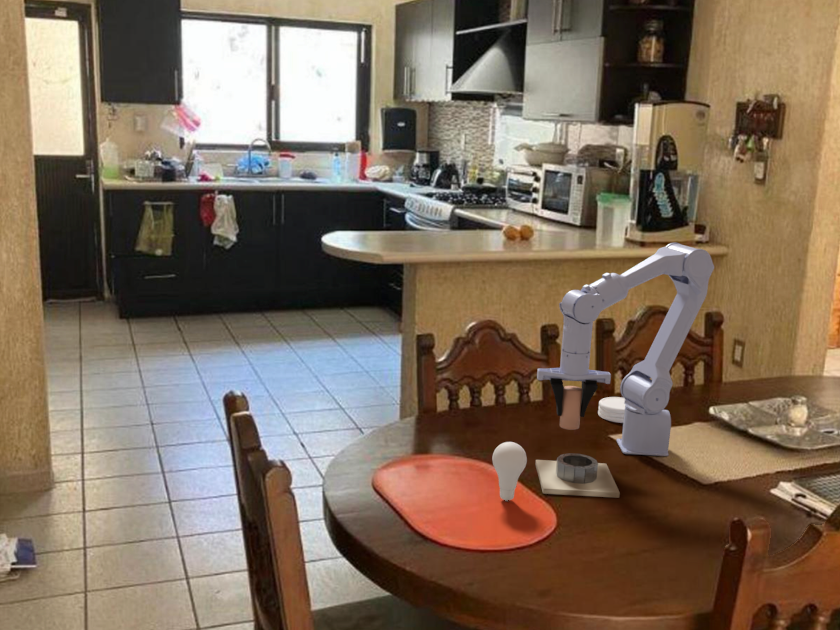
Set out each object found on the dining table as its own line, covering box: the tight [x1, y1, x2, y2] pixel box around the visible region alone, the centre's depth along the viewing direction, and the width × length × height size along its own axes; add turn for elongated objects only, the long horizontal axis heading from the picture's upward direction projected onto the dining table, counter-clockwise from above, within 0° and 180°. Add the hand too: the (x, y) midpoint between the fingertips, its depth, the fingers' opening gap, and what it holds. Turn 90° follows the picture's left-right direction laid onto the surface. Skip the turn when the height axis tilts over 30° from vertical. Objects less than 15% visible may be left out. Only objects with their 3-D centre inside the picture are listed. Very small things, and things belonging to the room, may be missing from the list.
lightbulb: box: [491, 441, 528, 502], centre depth 159 cm, size 6×6×11 cm
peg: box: [559, 385, 583, 431], centre depth 181 cm, size 4×4×8 cm
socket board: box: [534, 452, 621, 499], centre depth 171 cm, size 14×14×4 cm
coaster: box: [597, 396, 625, 424], centre depth 209 cm, size 10×10×4 cm
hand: (570, 414), depth 182 cm, fingers closed on peg, 4 cm apart
